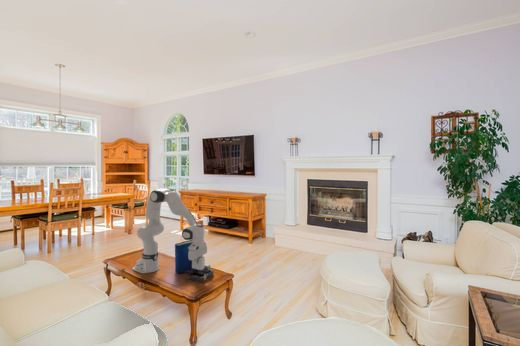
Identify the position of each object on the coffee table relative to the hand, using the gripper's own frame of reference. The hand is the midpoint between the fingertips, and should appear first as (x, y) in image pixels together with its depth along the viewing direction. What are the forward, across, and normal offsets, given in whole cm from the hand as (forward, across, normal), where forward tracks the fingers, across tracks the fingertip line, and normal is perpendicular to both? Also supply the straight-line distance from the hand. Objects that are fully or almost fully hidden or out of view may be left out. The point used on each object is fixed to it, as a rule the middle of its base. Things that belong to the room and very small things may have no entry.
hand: (198, 262), depth 206 cm
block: (+4, 0, 0) cm, 5 cm away
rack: (+14, -4, 0) cm, 14 cm away
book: (+14, -11, -18) cm, 25 cm away
